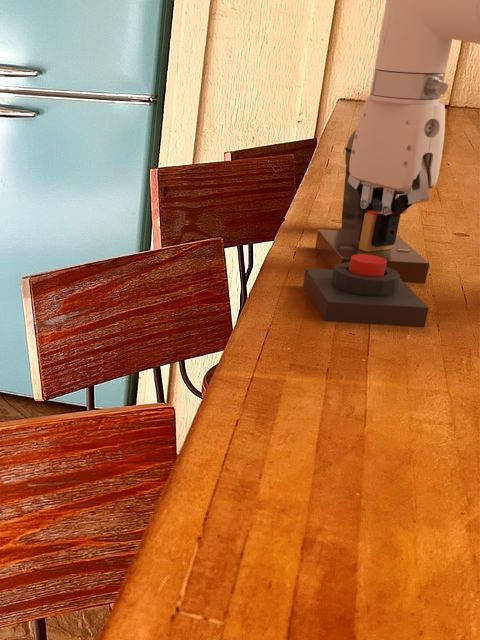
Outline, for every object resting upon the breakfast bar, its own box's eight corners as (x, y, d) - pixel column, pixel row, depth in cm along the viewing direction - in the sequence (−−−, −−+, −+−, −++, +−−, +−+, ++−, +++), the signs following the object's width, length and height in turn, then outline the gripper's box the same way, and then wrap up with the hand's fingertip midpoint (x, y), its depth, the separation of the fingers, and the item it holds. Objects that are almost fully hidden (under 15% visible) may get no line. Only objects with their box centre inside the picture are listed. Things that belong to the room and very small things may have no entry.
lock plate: (392, 251, 118) (395, 232, 117) (425, 283, 105) (430, 261, 104) (314, 247, 119) (318, 228, 118) (338, 278, 106) (342, 257, 105)
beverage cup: (390, 231, 128) (418, 87, 121) (378, 241, 123) (407, 91, 115) (338, 223, 132) (363, 83, 124) (325, 233, 126) (349, 87, 119)
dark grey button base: (391, 291, 102) (398, 258, 101) (424, 327, 91) (433, 290, 90) (302, 286, 103) (308, 253, 102) (324, 321, 92) (331, 284, 91)
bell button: (378, 270, 97) (381, 255, 96) (387, 280, 94) (391, 264, 93) (344, 268, 98) (347, 253, 97) (352, 278, 94) (355, 262, 94)
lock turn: (383, 246, 111) (390, 208, 109) (391, 249, 109) (399, 211, 108) (358, 249, 109) (365, 211, 107) (366, 251, 108) (373, 213, 106)
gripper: (487, 94, 97) (450, 257, 104) (380, 80, 110) (354, 225, 117) (436, 96, 94) (401, 263, 101) (332, 81, 107) (308, 230, 114)
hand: (376, 242), depth 109 cm, fingers closed
